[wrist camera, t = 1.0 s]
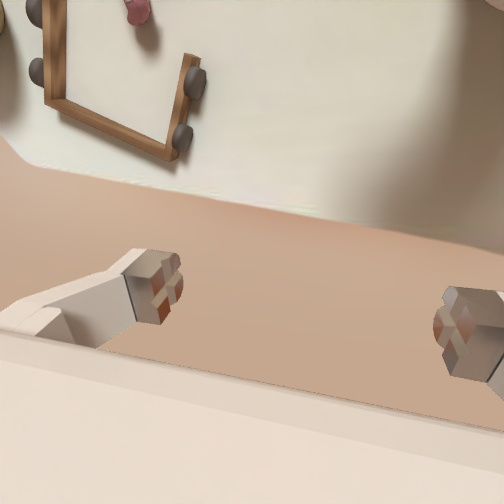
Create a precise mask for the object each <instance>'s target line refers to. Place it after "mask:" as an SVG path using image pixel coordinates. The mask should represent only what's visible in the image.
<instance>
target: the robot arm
mask: <svg viewBox="0 0 504 504" xmlns="http://www.w3.org/2000/svg"><path fill="white" fill-rule="evenodd" d="M485 1H486V2H487V3H488V4H490V5H491V6H493V7H495V8H497V9H499V10H502V11H504V0H485ZM180 265H181V263H180V258H179V255H177V254H176V253H171V252H164V251H157V250H149V249H143V248H142V249H141V248H133V249H132V250H130V251H129V252H128V253H127V254H126V255H125V256H123V257H122V258H121V259H120V260H118V261H117V262H116V263H115V264H114V265H112V266H111V267H110V268H109V269H108V270H106V271H105V272H98V273H96V274H92V275H89V276H86V277H83V278H81V279H78V280H75V281H72V282H69V283H66V284H63V285H61V286H58V287H54V288H52V289H49V290H46V291H43V292H40V293H37V294H34V295H31V296H28V297H25V298H23V299H20V300H18V301H16V302H15V303H13V304H12V305H11V306H9V307H8V308H6V309H5V310H3V311H2V312H0V504H504V431H501V430H496V429H491V428H486V427H481V426H476V425H471V424H466V423H461V422H456V421H451V420H446V419H442V418H437V417H431V416H427V415H422V414H417V413H412V412H407V411H402V410H398V409H393V408H388V407H383V406H378V405H373V404H368V403H363V402H358V401H353V400H348V399H343V398H339V397H333V396H329V395H324V394H319V393H313V392H309V391H304V390H299V389H294V388H289V387H284V386H279V385H274V384H269V383H264V382H259V381H254V380H249V379H244V378H239V377H234V376H230V375H225V374H220V373H215V372H210V371H205V370H199V369H195V368H190V367H184V366H180V365H174V364H170V363H165V362H160V361H155V360H150V359H145V358H140V357H135V356H130V355H125V354H121V353H116V352H111V351H106V350H100V349H96V348H97V347H99V346H100V345H102V344H104V343H105V342H107V341H108V340H110V339H112V338H113V337H115V336H116V335H118V334H119V333H121V332H123V331H124V330H126V329H127V328H129V327H131V326H132V325H134V324H135V323H136V322H143V323H150V324H157V325H161V324H162V323H163V321H164V320H165V318H166V317H167V315H168V314H169V312H170V305H172V304H174V303H176V302H177V301H178V299H179V298H180V296H181V293H182V290H183V276H182V275H181V273H180V272H179V271H178V270H177V269H178V268H179V266H180ZM442 298H443V300H444V302H445V305H444V306H443V307H441V308H440V309H438V310H437V312H436V315H435V318H434V324H433V330H434V336H435V339H436V341H437V343H438V344H439V345H440V346H442V347H443V348H444V349H445V350H444V352H443V354H442V356H443V359H444V361H445V364H446V366H447V369H448V371H449V374H450V375H451V376H455V377H460V378H465V379H470V380H475V381H480V382H485V383H488V384H487V385H488V386H489V387H490V388H491V389H492V390H493V391H494V392H495V393H496V394H497V395H498V396H499V397H500V398H501V399H503V400H504V291H495V290H482V289H472V288H462V287H452V286H449V287H448V288H447V289H446V290H445V293H444V295H443V297H442Z"/></svg>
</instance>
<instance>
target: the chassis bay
mask: <svg viewBox="0 0 504 504" xmlns="http://www.w3.org/2000/svg"><path fill="white" fill-rule="evenodd" d="M66 6H67V0H27V1H26V13H27V16H28V18H29V20H30V22H31V23H32V24H33V25H35V26H36V27H39V28H41V29H43V59H42V58H35V59H34V60H32V62H31V63H30V66H29V76H30V78H31V80H32V82H33V83H35V84H36V85H38V86H40V87H43V88H44V104H45V105H47V106H49V107H52V108H54V109H56V110H58V111H60V112H62V113H65V114H67V115H69V116H71V117H73V118H75V119H77V120H80V121H82V122H84V123H86V124H88V125H90V126H93V127H95V128H97V129H99V130H101V131H103V132H106V133H108V134H110V135H112V136H114V137H116V138H119V139H121V140H123V141H125V142H127V143H129V144H132V145H134V146H136V147H138V148H140V149H142V150H145V151H147V152H149V153H151V154H153V155H155V156H158V157H160V158H162V159H164V160H166V161H168V162H170V161H172V160H175V159H177V158H178V154H179V151H181V152H185V151H186V150H187V149H188V147H189V145H190V143H191V140H192V136H193V129H192V127H189V126H187V125H185V124H186V120H187V115H188V111H189V107H190V102H191V98H192V99H195V100H198V99H199V98H200V97H201V95H202V93H203V91H204V88H205V84H206V71H205V70H203V69H200V68H199V63H200V59H201V58H199V57H197V56H194V55H191V54H187V53H184V57H183V61H182V66H181V71H180V76H179V81H178V86H177V91H176V96H175V101H174V106H173V111H172V116H171V121H170V125H169V130H168V135H167V140H166V145H164V144H162V143H160V142H158V141H156V140H153V139H151V138H149V137H147V136H145V135H143V134H140V133H138V132H136V131H134V130H132V129H130V128H127V127H125V126H123V125H121V124H119V123H117V122H114V121H112V120H110V119H108V118H106V117H104V116H101V115H99V114H97V113H95V112H93V111H91V110H89V109H86V108H84V107H82V106H80V105H78V104H76V103H73V102H71V101H69V100H67V99H65V87H66Z"/></svg>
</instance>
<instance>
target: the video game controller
mask: <svg viewBox="0 0 504 504" xmlns="http://www.w3.org/2000/svg"><path fill="white" fill-rule="evenodd" d="M124 2H125V4H126V7H127V9H128V16H127V19H128V22H129V23H130V24H131V25H135V26H138V25H141V24H143V23H144V22H145V21H146V20H147V19H148V17H149V12H150V5H149V0H124Z"/></svg>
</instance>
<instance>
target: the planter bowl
mask: <svg viewBox="0 0 504 504" xmlns="http://www.w3.org/2000/svg"><path fill="white" fill-rule="evenodd" d="M3 26H4V12H3V8H2V3H1V0H0V34H1V32H2V30H3Z"/></svg>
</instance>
